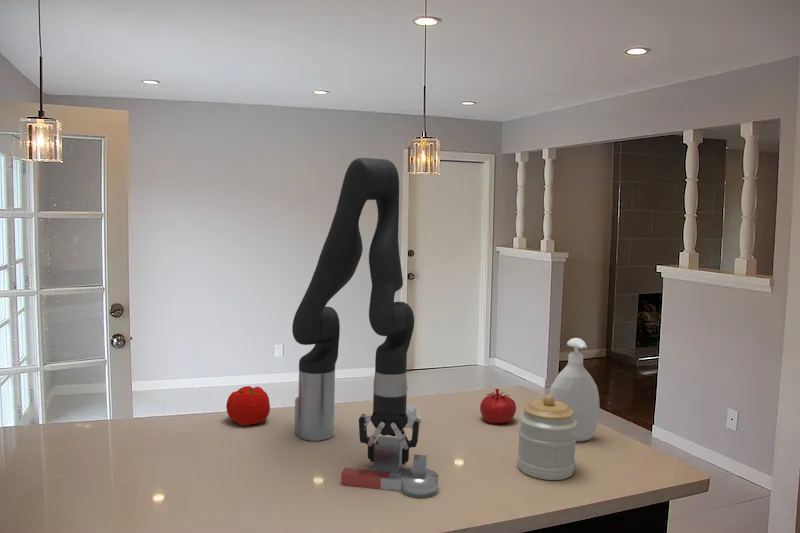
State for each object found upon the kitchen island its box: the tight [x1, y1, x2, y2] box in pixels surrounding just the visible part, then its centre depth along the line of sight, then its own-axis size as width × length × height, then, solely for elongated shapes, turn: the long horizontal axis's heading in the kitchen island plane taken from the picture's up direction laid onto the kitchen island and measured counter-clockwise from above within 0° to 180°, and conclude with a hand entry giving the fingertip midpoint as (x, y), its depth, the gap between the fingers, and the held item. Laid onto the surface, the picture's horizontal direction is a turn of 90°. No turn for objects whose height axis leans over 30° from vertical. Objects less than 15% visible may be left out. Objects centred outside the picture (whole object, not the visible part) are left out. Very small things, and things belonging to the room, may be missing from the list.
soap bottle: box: [548, 337, 601, 443], centre depth 163 cm, size 14×8×27 cm, turn 99°
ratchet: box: [340, 453, 440, 499], centre depth 133 cm, size 20×8×7 cm, turn 81°
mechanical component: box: [404, 403, 422, 428], centre depth 175 cm, size 10×4×10 cm
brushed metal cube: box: [373, 435, 403, 473], centre depth 143 cm, size 6×6×6 cm
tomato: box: [225, 385, 271, 426], centre depth 170 cm, size 11×12×9 cm
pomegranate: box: [479, 388, 517, 425], centre depth 177 cm, size 10×10×9 cm
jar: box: [516, 393, 577, 481], centre depth 144 cm, size 13×13×18 cm
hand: (388, 462), depth 143 cm, fingers open, 6 cm apart
